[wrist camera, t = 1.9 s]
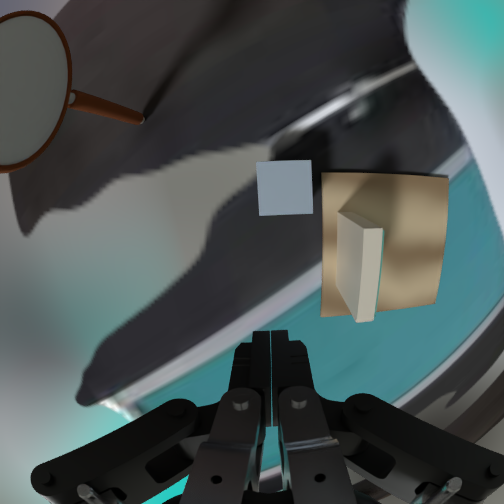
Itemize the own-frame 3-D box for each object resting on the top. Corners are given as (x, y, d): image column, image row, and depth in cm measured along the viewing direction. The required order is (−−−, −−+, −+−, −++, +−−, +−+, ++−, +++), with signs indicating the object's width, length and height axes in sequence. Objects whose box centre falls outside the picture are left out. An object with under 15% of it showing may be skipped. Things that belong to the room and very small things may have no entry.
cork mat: (321, 172, 23) (322, 172, 22) (446, 178, 22) (448, 178, 21) (320, 315, 27) (321, 317, 26) (433, 302, 26) (434, 303, 25)
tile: (337, 211, 23) (363, 228, 16) (354, 211, 23) (385, 228, 16) (335, 284, 25) (356, 322, 18) (351, 283, 25) (375, 320, 18)
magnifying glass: (141, 80, 21) (-20, 1, 1) (157, 78, 21) (-1, -16, 1) (129, 164, 23) (-67, 187, 4) (145, 164, 23) (-57, 185, 4)
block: (257, 163, 23) (256, 162, 19) (303, 161, 23) (310, 160, 19) (260, 208, 24) (259, 215, 20) (305, 206, 24) (312, 213, 20)
